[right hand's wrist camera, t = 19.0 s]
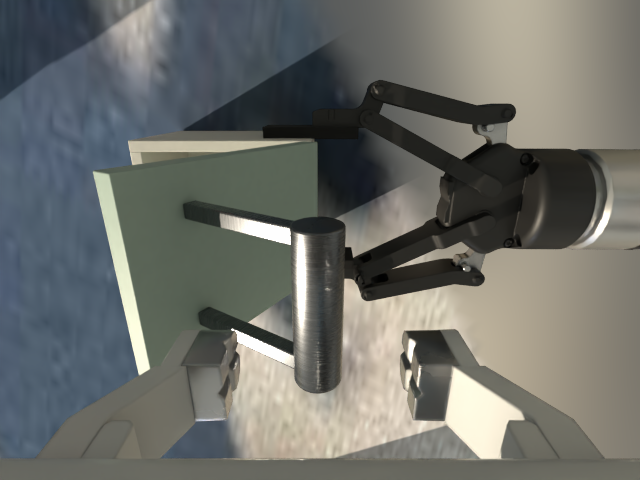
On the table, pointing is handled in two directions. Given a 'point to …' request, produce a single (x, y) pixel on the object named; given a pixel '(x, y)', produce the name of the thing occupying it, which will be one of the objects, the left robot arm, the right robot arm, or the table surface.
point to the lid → (229, 254)
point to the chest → (199, 144)
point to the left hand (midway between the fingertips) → (269, 198)
